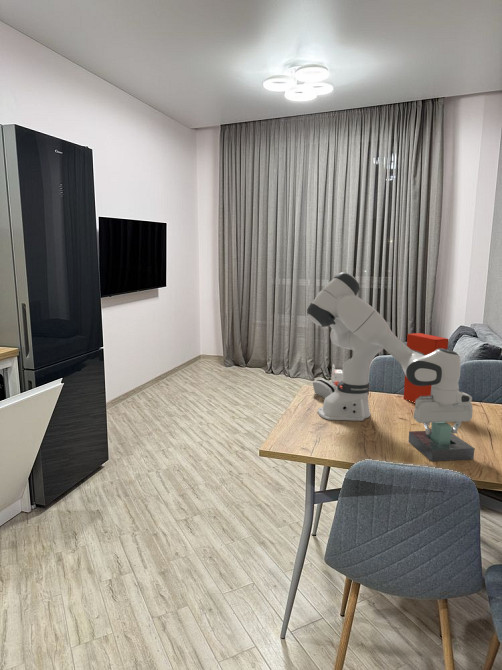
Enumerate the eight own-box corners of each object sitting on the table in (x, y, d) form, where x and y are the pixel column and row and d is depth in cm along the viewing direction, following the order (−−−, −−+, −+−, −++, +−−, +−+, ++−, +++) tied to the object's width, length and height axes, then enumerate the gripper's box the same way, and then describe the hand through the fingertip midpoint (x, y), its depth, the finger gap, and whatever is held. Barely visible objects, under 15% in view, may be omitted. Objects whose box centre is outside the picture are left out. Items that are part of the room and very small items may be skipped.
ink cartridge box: (343, 396, 229) (344, 367, 226) (332, 396, 229) (334, 367, 227) (340, 391, 237) (341, 363, 235) (330, 391, 237) (331, 363, 235)
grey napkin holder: (342, 401, 221) (337, 383, 218) (334, 406, 219) (329, 387, 216) (323, 392, 236) (318, 374, 233) (315, 396, 234) (310, 378, 231)
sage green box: (438, 454, 162) (440, 426, 161) (429, 447, 168) (431, 420, 167) (449, 453, 163) (451, 426, 161) (440, 446, 169) (442, 420, 167)
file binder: (429, 409, 211) (435, 339, 206) (403, 399, 226) (407, 333, 221) (443, 407, 214) (448, 338, 209) (415, 397, 230) (420, 332, 224)
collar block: (431, 461, 156) (432, 449, 156) (408, 441, 173) (409, 431, 172) (473, 459, 158) (474, 448, 158) (446, 440, 175) (447, 430, 174)
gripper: (420, 398, 158) (417, 437, 160) (476, 397, 161) (473, 435, 163) (411, 393, 164) (409, 431, 166) (466, 392, 167) (462, 429, 169)
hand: (441, 433), depth 165 cm, fingers open, 8 cm apart
